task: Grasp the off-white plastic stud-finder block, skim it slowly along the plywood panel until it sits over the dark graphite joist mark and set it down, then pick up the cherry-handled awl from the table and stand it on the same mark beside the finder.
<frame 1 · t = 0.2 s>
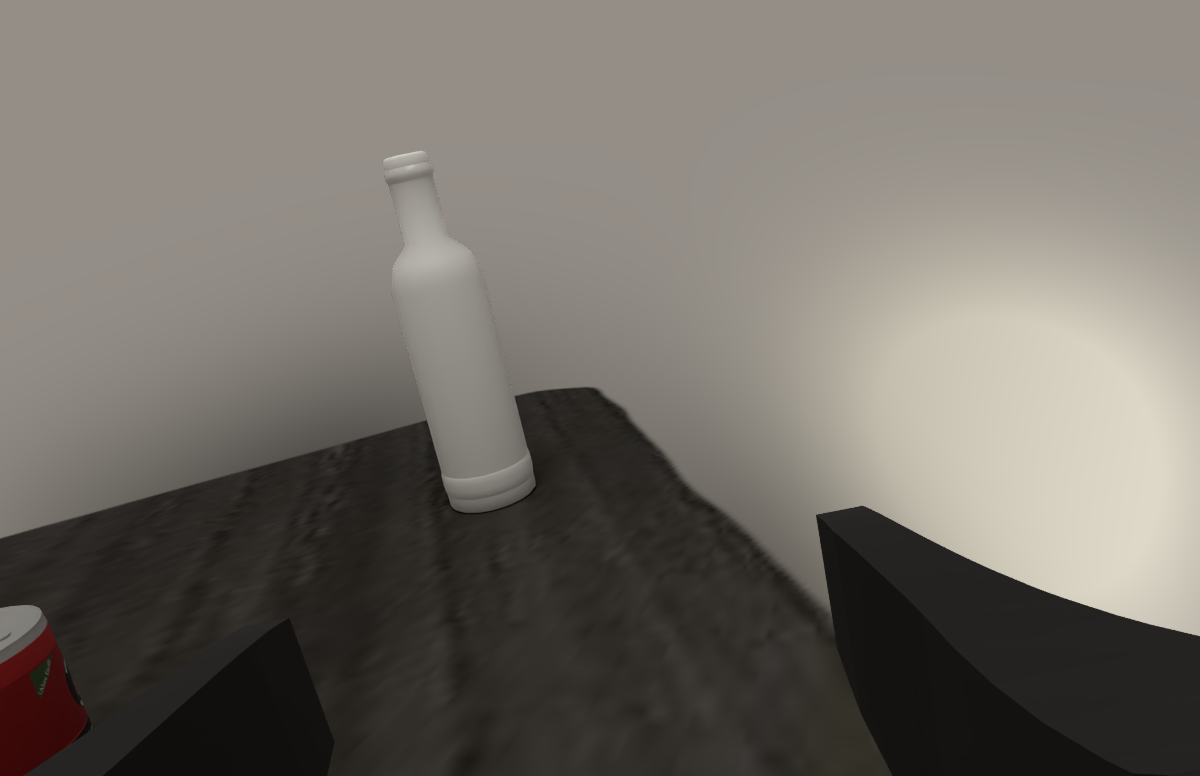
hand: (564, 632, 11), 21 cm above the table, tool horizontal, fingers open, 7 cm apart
bottle: (494, 496, 77), on the table
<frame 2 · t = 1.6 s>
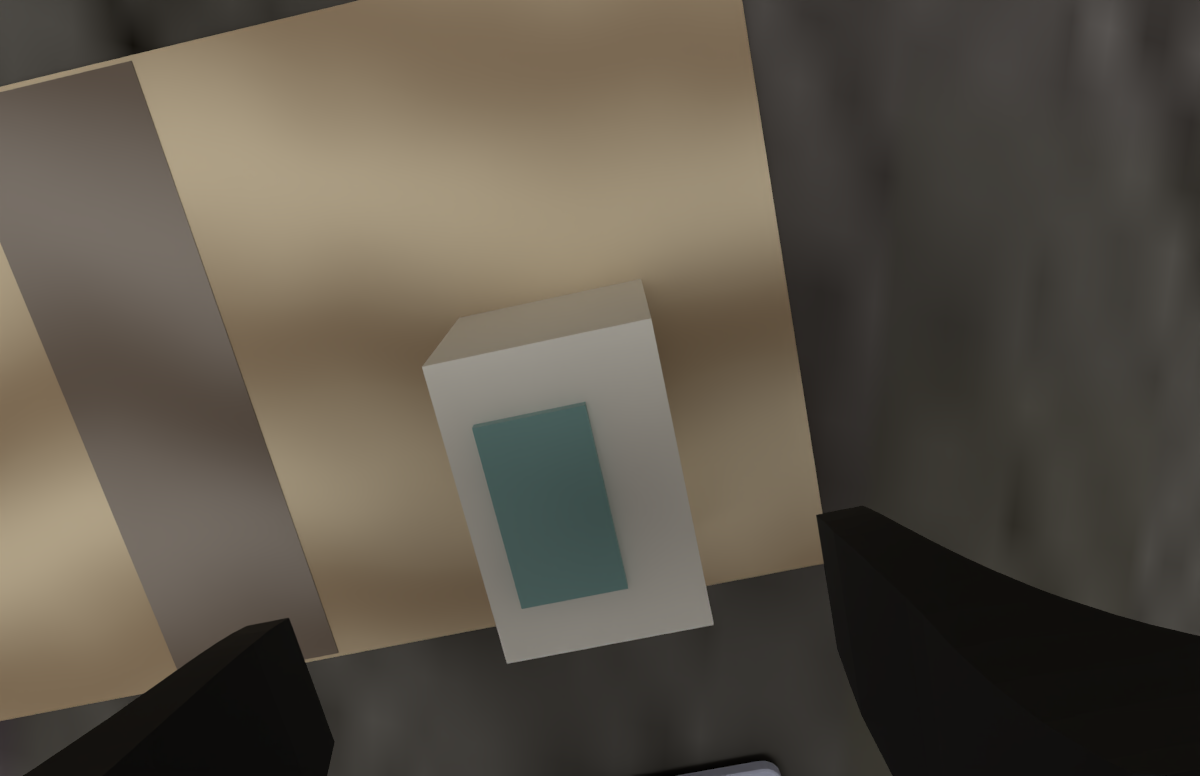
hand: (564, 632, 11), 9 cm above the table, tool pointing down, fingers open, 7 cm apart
finder: (580, 427, 19), point 1 cm above the table, touching subfloor panel
subfloor panel: (307, 363, 20), on the table
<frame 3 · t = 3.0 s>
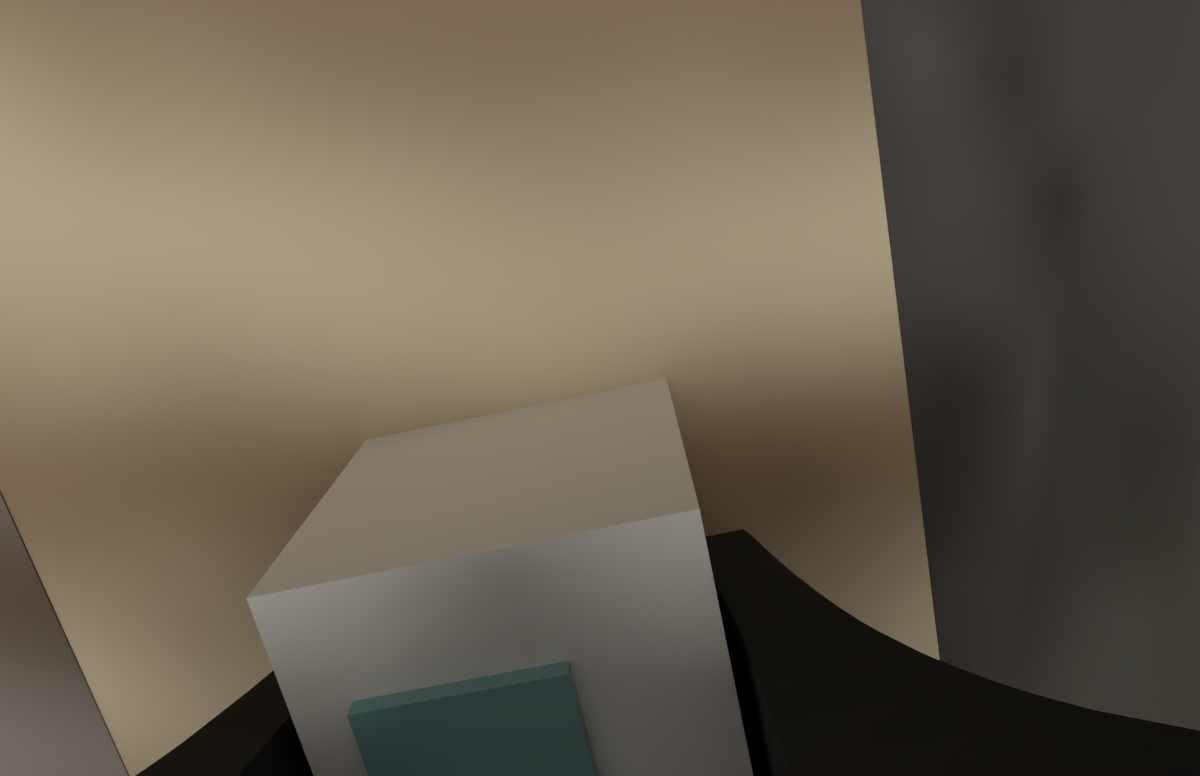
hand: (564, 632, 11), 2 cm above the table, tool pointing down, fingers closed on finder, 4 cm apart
finder: (566, 608, 12), point 1 cm above the table, touching gripper, subfloor panel
subfloor panel: (139, 495, 13), on the table
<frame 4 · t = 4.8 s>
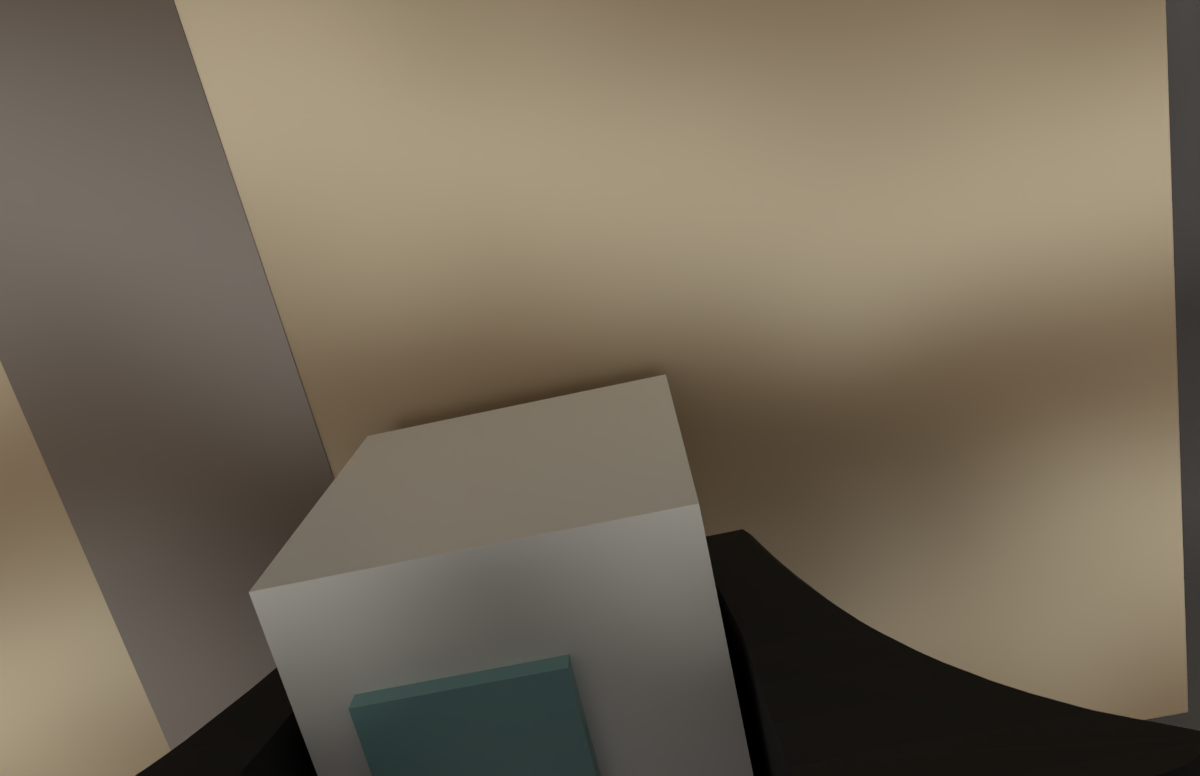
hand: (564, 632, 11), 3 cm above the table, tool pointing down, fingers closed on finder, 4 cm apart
finder: (566, 604, 12), point 2 cm above the table, touching gripper
subfloor panel: (412, 421, 14), on the table
when the fingers open (2 cm above the table, at t = 7.0 s): finder stays where it is, resting on subfloor panel.
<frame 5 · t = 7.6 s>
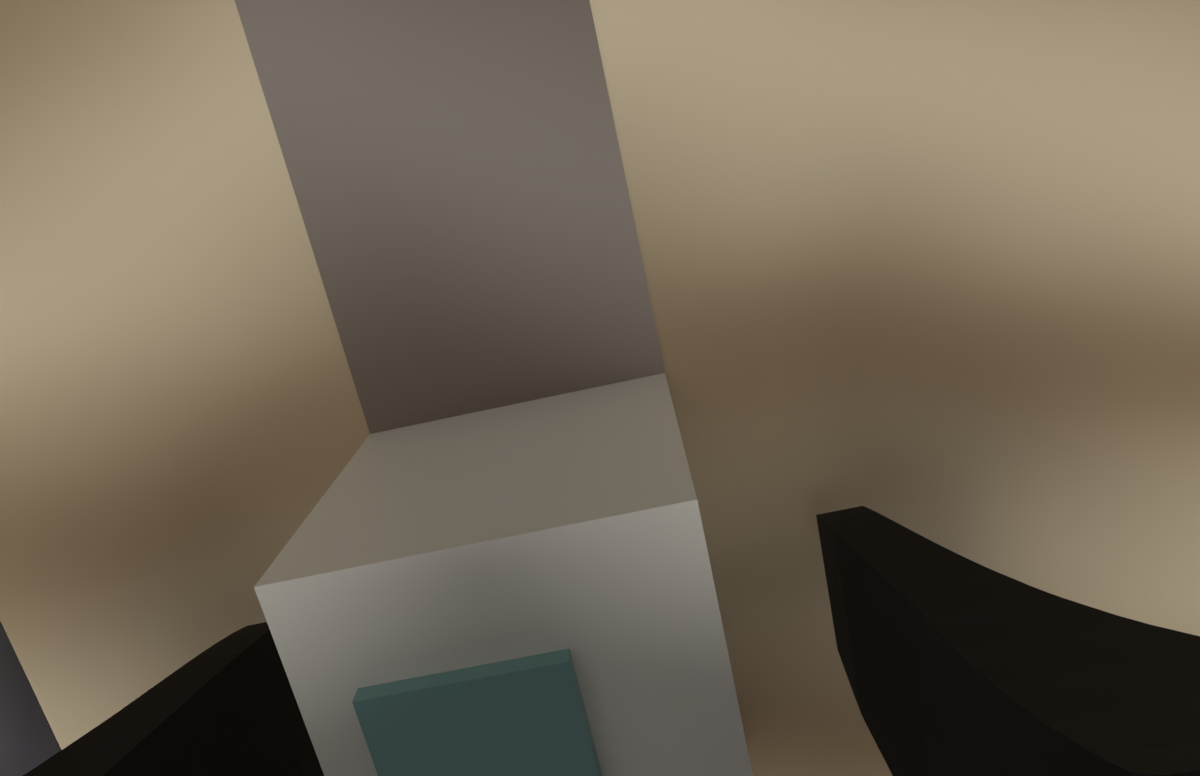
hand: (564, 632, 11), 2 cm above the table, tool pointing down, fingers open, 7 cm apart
finder: (566, 601, 12), point 1 cm above the table, touching subfloor panel
subfloor panel: (733, 368, 13), on the table
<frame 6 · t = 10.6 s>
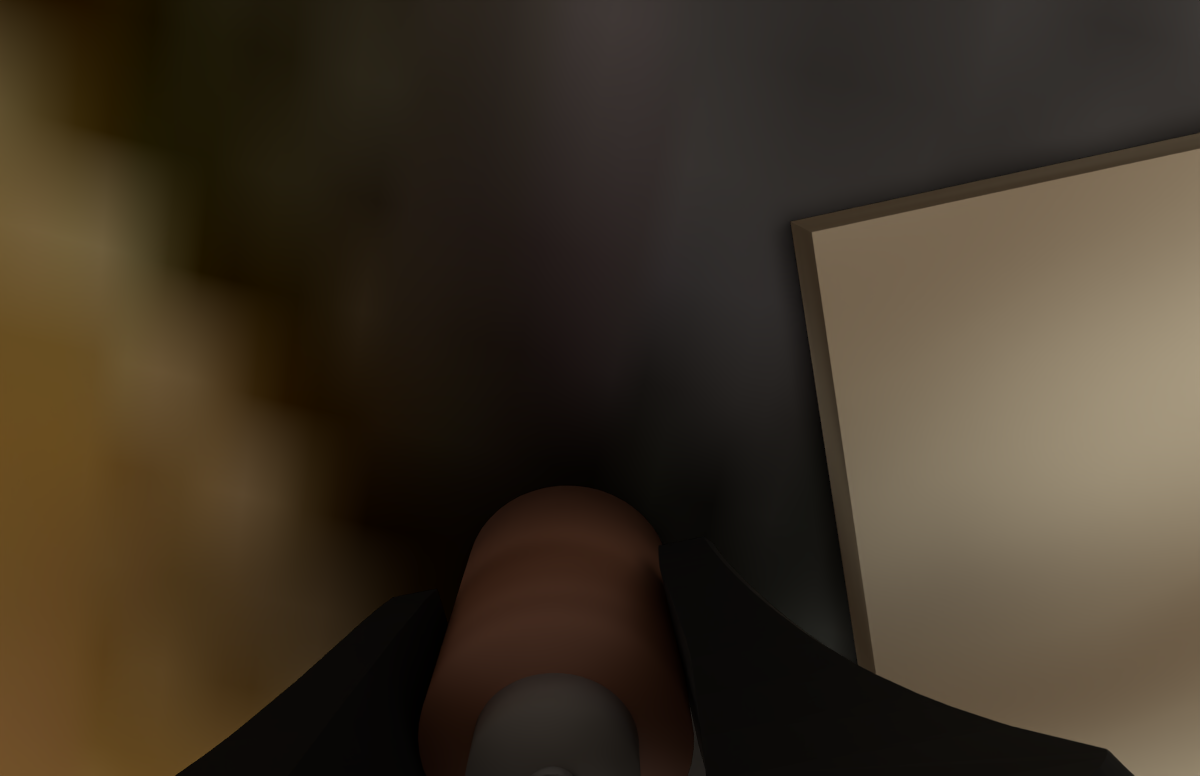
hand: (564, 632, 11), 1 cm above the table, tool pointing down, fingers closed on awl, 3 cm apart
awl: (568, 578, 13), on the table, touching gripper
when the fingers open (4 cm above the table, at t = 13.2 s): awl drops 1 cm, resting on subfloor panel.
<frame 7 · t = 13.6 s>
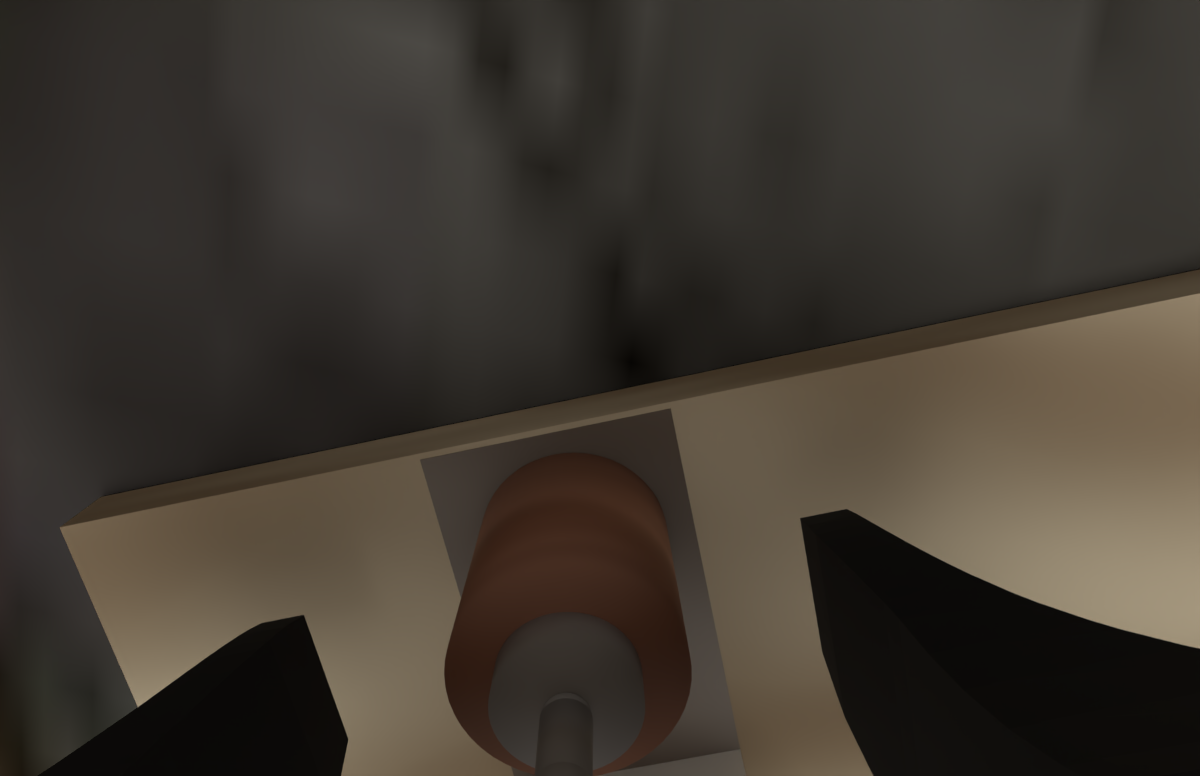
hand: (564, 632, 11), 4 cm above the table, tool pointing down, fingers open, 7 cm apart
awl: (574, 539, 14), point 1 cm above the table, touching subfloor panel
subfloor panel: (787, 717, 16), on the table
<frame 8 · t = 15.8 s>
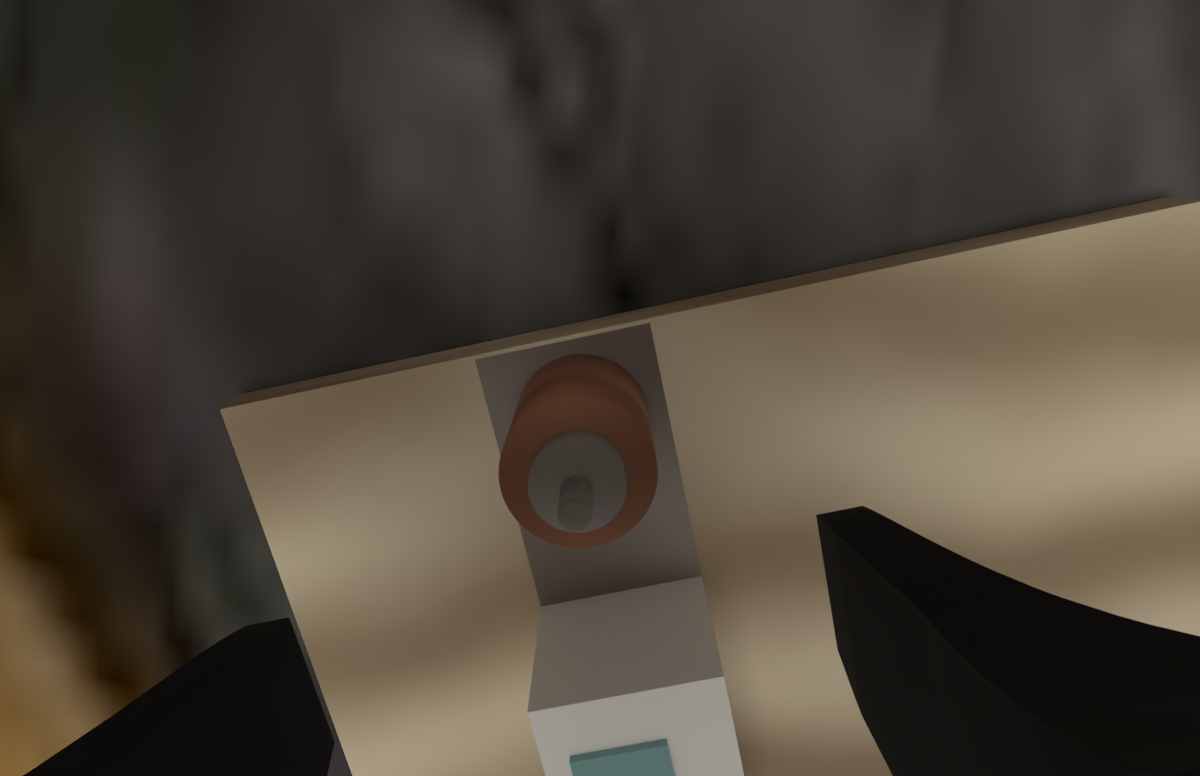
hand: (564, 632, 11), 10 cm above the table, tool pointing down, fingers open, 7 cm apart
awl: (582, 418, 20), point 1 cm above the table, touching subfloor panel
finder: (645, 694, 22), point 1 cm above the table, touching subfloor panel
subfloor panel: (738, 561, 22), on the table
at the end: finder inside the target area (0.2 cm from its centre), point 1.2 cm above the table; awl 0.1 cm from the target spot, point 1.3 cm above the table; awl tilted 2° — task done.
